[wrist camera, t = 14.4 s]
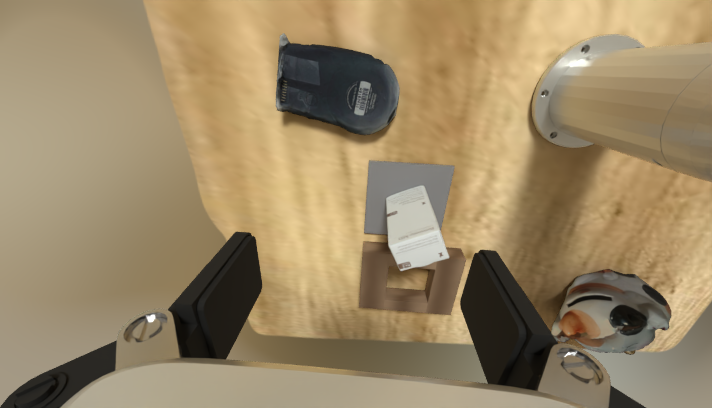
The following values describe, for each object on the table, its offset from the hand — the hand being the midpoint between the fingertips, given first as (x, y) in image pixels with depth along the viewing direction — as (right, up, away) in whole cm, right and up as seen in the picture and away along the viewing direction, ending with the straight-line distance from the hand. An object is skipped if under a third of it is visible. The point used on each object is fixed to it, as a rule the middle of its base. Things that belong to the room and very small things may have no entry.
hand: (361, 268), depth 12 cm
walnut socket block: (+9, -9, +36) cm, 38 cm away
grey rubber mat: (+7, +3, +29) cm, 31 cm away
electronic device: (-2, +18, +24) cm, 30 cm away
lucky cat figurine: (+40, -13, +36) cm, 55 cm away
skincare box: (+8, +3, +29) cm, 30 cm away
